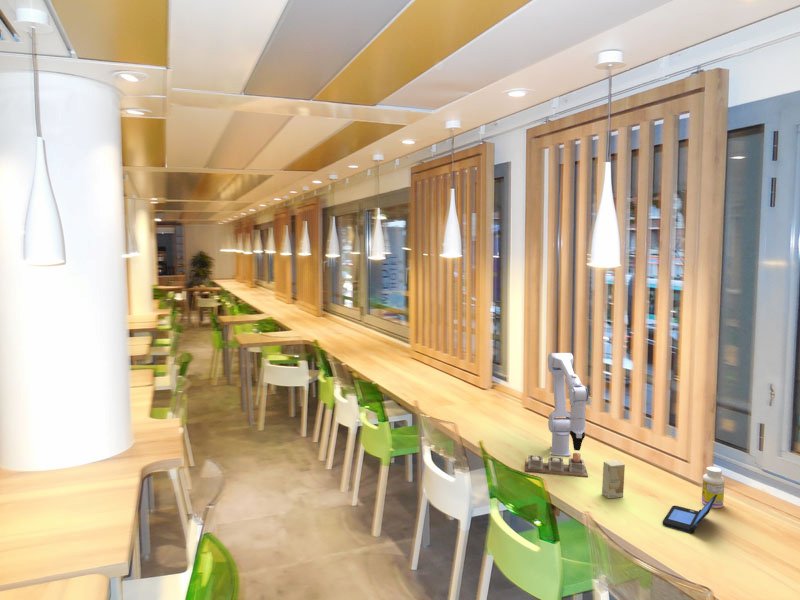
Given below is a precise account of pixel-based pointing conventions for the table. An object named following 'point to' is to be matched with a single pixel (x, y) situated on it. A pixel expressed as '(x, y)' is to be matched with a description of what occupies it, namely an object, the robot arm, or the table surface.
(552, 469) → the board
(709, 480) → the supplement bottle
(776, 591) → the table surface
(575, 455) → the terracotta plug
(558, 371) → the robot arm
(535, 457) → the plug
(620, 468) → the skincare box
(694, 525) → the handheld game console
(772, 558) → the table surface
